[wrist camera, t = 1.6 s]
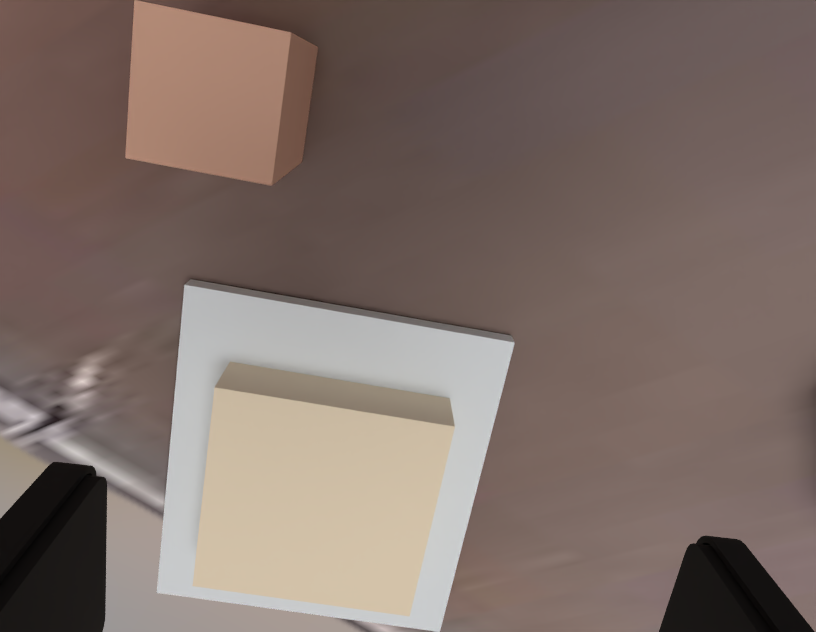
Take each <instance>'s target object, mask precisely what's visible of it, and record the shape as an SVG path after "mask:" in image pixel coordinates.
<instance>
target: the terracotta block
mask: <svg viewBox="0 0 816 632" xmlns="http://www.w3.org/2000/svg"><path fill="white" fill-rule="evenodd" d="M317 51H318V47H317V46H315V45H313V44H312V43H310V42H308V41H306V40H304V39H302V38H301V37H299V36H297V35H295V34H293V33H291V32H287V31H282V30H277V29H273V28H268V27H263V26H258V25H253V24H248V23H244V22H239V21H234V20H229V19H224V18H219V17H215V16H210V15H205V14H200V13H195V12H191V11H186V10H181V9H176V8H171V7H166V6H162V5H157V4H152V3H147V2H142V1H137V0H134V16H133V34H132V51H131V69H130V86H129V104H128V122H127V139H126V157H125V158H127V159H133V160H138V161H143V162H149V163H154V164H159V165H165V166H170V167H175V168H180V169H186V170H191V171H196V172H202V173H207V174H212V175H217V176H223V177H228V178H233V179H239V180H244V181H249V182H255V183H260V184H265V185H270V186H272V185H273V184H275V183H276V182H277V181H278V180H280V179H281V178H282V177H284V176H285V175H286V174H287V173H289V172H290V171H291V170H293V169H294V168H295V167H296V166H298V165H299V164H300V163H301V162H302V159H303V152H304V145H305V138H306V130H307V123H308V116H309V109H310V102H311V95H312V87H313V80H314V73H315V66H316V59H317Z"/></svg>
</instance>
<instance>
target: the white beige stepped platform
mask: <svg viewBox="0 0 816 632" xmlns="http://www.w3.org/2000/svg"><path fill="white" fill-rule="evenodd" d="M514 343H515V342H514V340H513V338H512V336H511V335H506V334H500V333H494V332H489V331H483V330H477V329H472V328H466V327H460V326H455V325H449V324H443V323H437V322H432V321H426V320H420V319H415V318H409V317H403V316H398V315H392V314H386V313H381V312H375V311H369V310H364V309H358V308H352V307H346V306H341V305H335V304H329V303H324V302H318V301H312V300H307V299H301V298H295V297H290V296H284V295H278V294H273V293H267V292H261V291H255V290H250V289H244V288H238V287H233V286H227V285H221V284H216V283H210V282H204V281H199V280H193V279H190V280H189V281H188V282H187V283H186V284H185V285H184V297H183V308H182V319H181V330H180V341H179V352H178V363H177V374H176V385H175V396H174V407H173V418H172V430H171V441H170V452H169V463H168V474H167V485H166V496H165V507H164V518H163V529H162V540H161V541H162V542H161V551H160V563H159V574H158V585H157V593H163V594H170V595H177V596H184V597H192V598H199V599H206V600H213V601H221V602H227V603H235V604H242V605H249V606H256V607H264V608H271V609H278V610H285V611H293V612H301V613H307V614H314V615H321V616H329V617H336V618H343V619H350V620H358V621H365V622H372V623H379V624H387V625H394V626H401V627H408V628H415V629H423V630H430V631H437V632H440V629H441V625H442V621H443V617H444V613H445V609H446V606H447V602H448V598H449V594H450V590H451V586H452V582H453V579H454V575H455V571H456V567H457V563H458V559H459V555H460V552H461V548H462V544H463V540H464V536H465V532H466V528H467V525H468V521H469V517H470V513H471V509H472V505H473V501H474V498H475V494H476V490H477V486H478V482H479V478H480V475H481V471H482V467H483V463H484V459H485V455H486V451H487V448H488V444H489V440H490V436H491V432H492V428H493V424H494V421H495V417H496V413H497V409H498V405H499V401H500V397H501V394H502V390H503V386H504V382H505V378H506V374H507V370H508V367H509V363H510V359H511V355H512V351H513V347H514Z"/></svg>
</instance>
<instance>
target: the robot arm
mask: <svg viewBox="0 0 816 632" xmlns="http://www.w3.org/2000/svg"><path fill="white" fill-rule="evenodd" d="M106 517H107V481H106V478H104V477H99V476H96V471H95V468H94V467H93V466H88V465H79V464H70V463H62V462H53V463H52V464H50V465H49V466H48V467H47V468H46V469H45V470H44V472H43V473H42V474H41V475H40V476H39V477H38V478H37V479H36V480H35V481H34V483H33V484H32V485H31V486H30V487H29V488H28V489H27V490H26V491H25V492H24V494H23V495H22V496H21V497H20V498H19V499H18V500H17V501H16V502H15V503H14V505H13V506H12V507H11V508H10V509H9V510H8V511H7V512H6V513H5V514H4V515H3V517H2V518H1V519H0V632H102V631H103V627H104V622H105V592H106V522H107V518H106ZM659 632H814V630H813V629H812V628H811V627H810V625H809V624H808V623H807V622H806V620H805V619H804V618H803V617H802V615H801V614H800V613H799V612H798V610H797V609H796V608H795V607H794V605H793V604H792V603H791V602H790V600H789V599H788V598H787V597H786V595H785V594H784V593H783V592H782V590H781V589H780V588H779V586H778V585H777V584H776V583H775V581H774V580H773V579H772V578H771V576H770V575H769V574H768V573H767V571H766V570H765V569H764V568H763V566H762V565H761V564H760V563H759V561H758V560H757V559H756V558H755V556H754V555H753V554H752V553H751V551H750V550H749V549H748V548H747V546H746V545H745V544H744V543H743V542H742V541H740V540H737V539H730V538H721V537H713V536H703V537H701V538H700V539H699V540H698V541H697V543H696V544H694V543H693V544H690V545H689V546H688V548H687V550H686V552H685V555H684V558H683V561H682V564H681V567H680V570H679V573H678V576H677V579H676V582H675V585H674V588H673V591H672V594H671V597H670V600H669V603H668V606H667V609H666V612H665V615H664V618H663V621H662V624H661V627H660V630H659Z"/></svg>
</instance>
